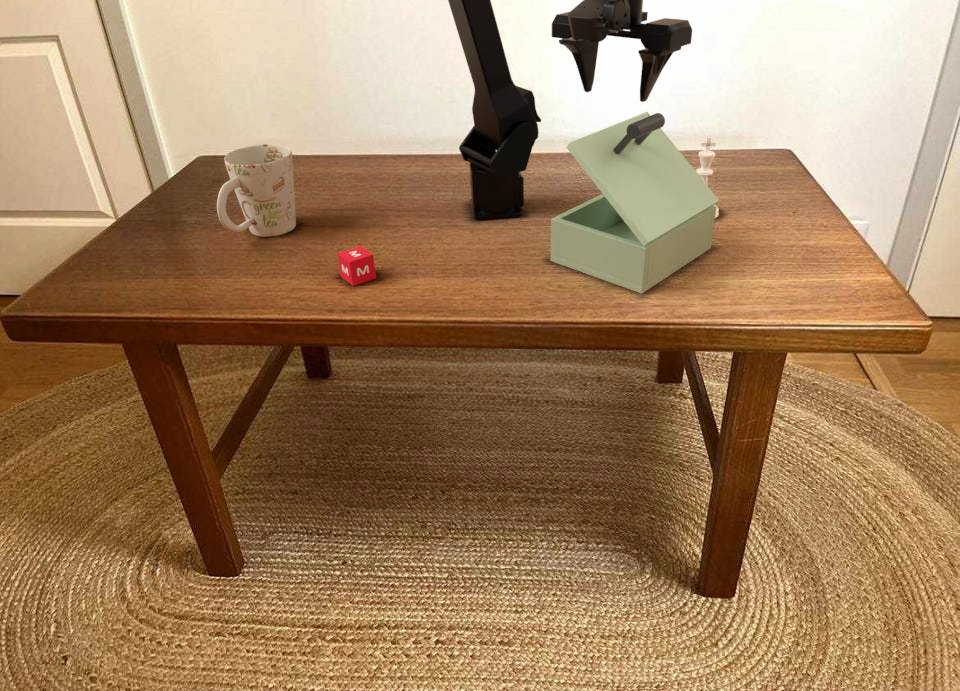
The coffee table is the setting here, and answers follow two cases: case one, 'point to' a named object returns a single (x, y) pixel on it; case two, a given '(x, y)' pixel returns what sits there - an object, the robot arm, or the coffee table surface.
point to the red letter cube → (356, 265)
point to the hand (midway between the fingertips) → (614, 96)
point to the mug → (260, 189)
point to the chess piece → (707, 163)
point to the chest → (624, 245)
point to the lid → (643, 176)
